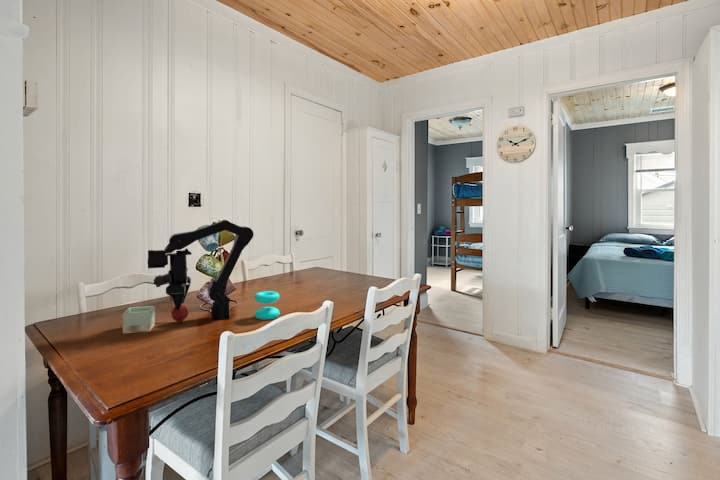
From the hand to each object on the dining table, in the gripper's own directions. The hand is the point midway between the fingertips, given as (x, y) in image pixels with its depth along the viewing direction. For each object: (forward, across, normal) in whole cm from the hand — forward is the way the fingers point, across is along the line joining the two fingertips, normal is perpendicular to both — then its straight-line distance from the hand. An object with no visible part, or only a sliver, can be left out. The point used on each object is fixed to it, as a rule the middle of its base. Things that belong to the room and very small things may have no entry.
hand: (179, 306), depth 145 cm
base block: (+7, +4, -13) cm, 15 cm away
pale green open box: (+4, +4, -13) cm, 14 cm away
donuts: (+7, +1, +33) cm, 34 cm away
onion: (+7, 0, 0) cm, 7 cm away
